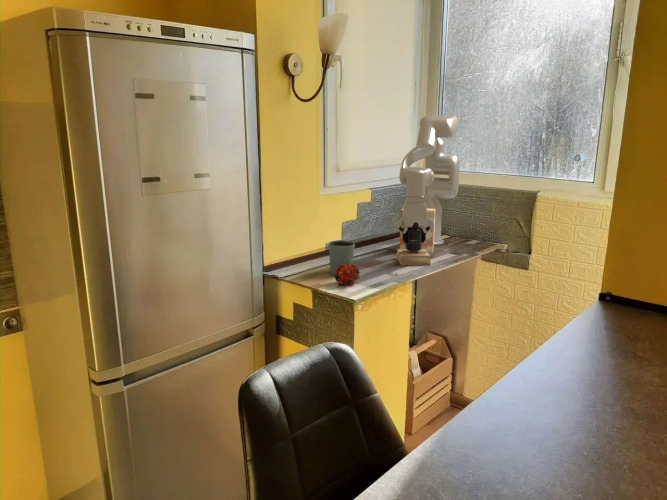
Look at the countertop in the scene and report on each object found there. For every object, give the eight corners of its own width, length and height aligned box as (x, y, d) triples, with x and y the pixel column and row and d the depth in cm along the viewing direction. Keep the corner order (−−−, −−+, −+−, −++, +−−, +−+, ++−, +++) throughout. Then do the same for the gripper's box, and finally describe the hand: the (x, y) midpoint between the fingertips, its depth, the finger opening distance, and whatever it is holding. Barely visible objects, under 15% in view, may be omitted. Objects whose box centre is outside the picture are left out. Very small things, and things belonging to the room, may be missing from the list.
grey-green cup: (325, 270, 208) (325, 241, 205) (348, 268, 211) (348, 239, 208) (334, 277, 198) (334, 246, 195) (358, 274, 202) (358, 244, 199)
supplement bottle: (411, 252, 215) (411, 223, 212) (402, 248, 221) (403, 220, 218) (425, 250, 217) (426, 222, 214) (416, 246, 223) (417, 219, 221)
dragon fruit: (359, 284, 195) (339, 296, 187) (343, 268, 198) (323, 280, 189) (368, 269, 190) (348, 281, 181) (352, 253, 192) (332, 265, 184)
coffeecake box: (399, 252, 236) (400, 209, 232) (401, 248, 243) (402, 207, 238) (433, 254, 233) (434, 210, 228) (433, 250, 240) (435, 208, 235)
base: (396, 258, 226) (397, 248, 225) (424, 257, 226) (424, 248, 225) (401, 265, 214) (401, 255, 213) (430, 265, 215) (430, 255, 214)
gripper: (434, 198, 218) (432, 239, 222) (392, 198, 217) (392, 240, 222) (438, 201, 211) (436, 243, 215) (395, 201, 210) (394, 244, 214)
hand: (413, 241), depth 218 cm, fingers closed on supplement bottle, 6 cm apart
